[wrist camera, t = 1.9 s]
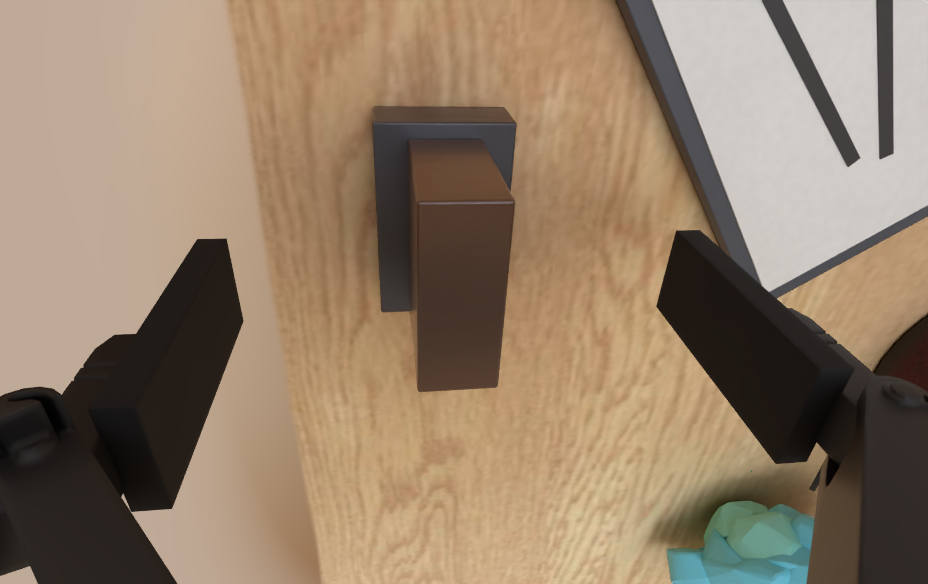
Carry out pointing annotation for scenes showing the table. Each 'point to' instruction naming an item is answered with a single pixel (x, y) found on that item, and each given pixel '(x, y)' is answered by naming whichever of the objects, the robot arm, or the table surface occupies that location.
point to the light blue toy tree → (748, 547)
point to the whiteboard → (794, 122)
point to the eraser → (446, 235)
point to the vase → (909, 357)
